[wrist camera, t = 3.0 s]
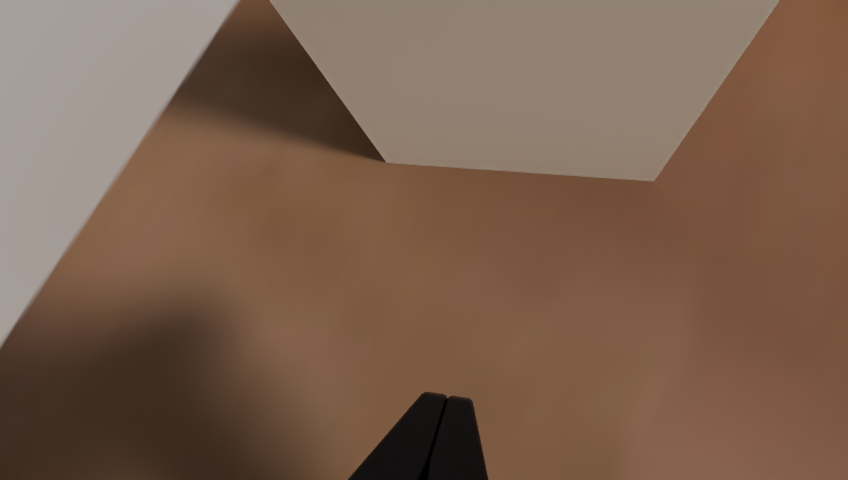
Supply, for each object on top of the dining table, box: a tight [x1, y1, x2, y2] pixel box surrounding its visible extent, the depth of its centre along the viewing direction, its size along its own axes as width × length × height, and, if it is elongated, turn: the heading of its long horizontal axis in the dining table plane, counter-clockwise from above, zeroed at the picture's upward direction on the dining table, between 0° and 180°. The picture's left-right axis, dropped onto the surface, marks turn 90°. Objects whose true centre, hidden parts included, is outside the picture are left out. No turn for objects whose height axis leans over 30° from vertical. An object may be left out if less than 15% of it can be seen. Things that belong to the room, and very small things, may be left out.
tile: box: [269, 0, 780, 181], centre depth 15 cm, size 4×10×13 cm, turn 82°
